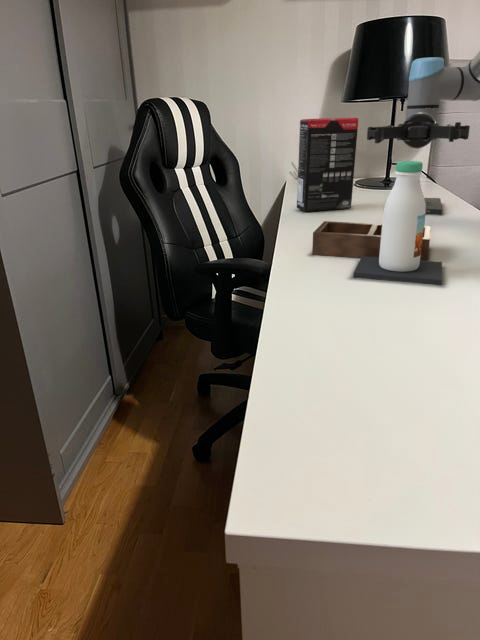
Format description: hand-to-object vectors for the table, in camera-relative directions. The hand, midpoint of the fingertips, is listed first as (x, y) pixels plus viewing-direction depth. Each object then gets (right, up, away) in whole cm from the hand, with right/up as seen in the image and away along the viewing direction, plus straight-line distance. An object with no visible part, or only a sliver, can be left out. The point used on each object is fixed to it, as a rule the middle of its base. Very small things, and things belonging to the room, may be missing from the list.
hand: (414, 134), depth 98 cm
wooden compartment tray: (-4, -21, +16) cm, 26 cm away
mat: (-3, -27, +2) cm, 27 cm away
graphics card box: (-7, -1, +63) cm, 63 cm away
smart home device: (+25, -1, +61) cm, 66 cm away
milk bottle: (-3, -26, +1) cm, 26 cm away
